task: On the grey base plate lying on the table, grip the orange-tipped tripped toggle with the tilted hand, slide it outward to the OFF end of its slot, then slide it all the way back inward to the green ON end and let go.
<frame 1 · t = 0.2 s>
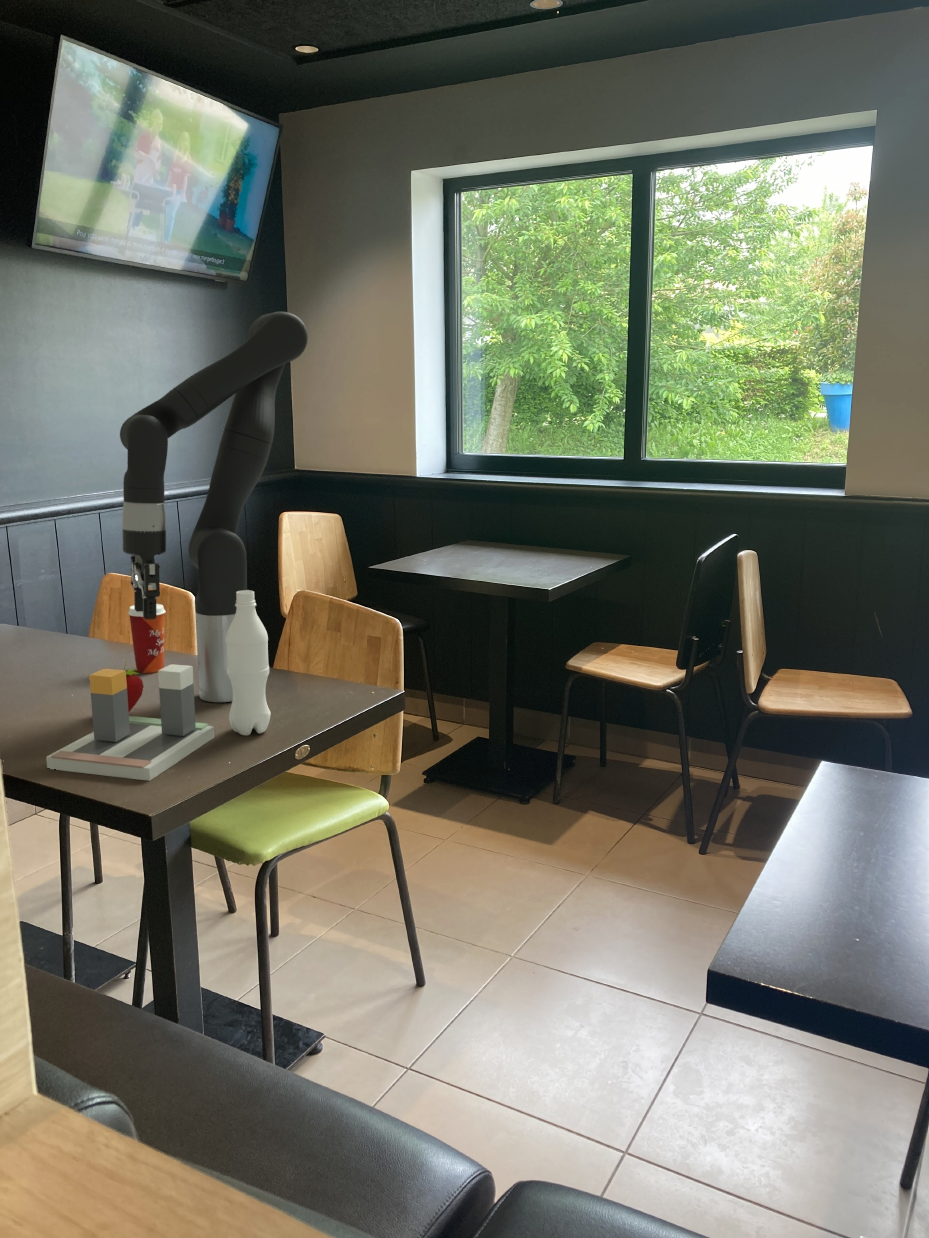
hand: (145, 614, 172), 18 cm above the table, tool pointing down, fingers open, 8 cm apart
paper cup: (150, 670, 202), on the table
orange-topped grey pillar: (110, 705, 153), point 8 cm above the table, slide at 0.0 cm
water bottle: (250, 731, 165), on the table
grey base plate: (134, 752, 154), on the table
strawberry: (125, 714, 173), on the table
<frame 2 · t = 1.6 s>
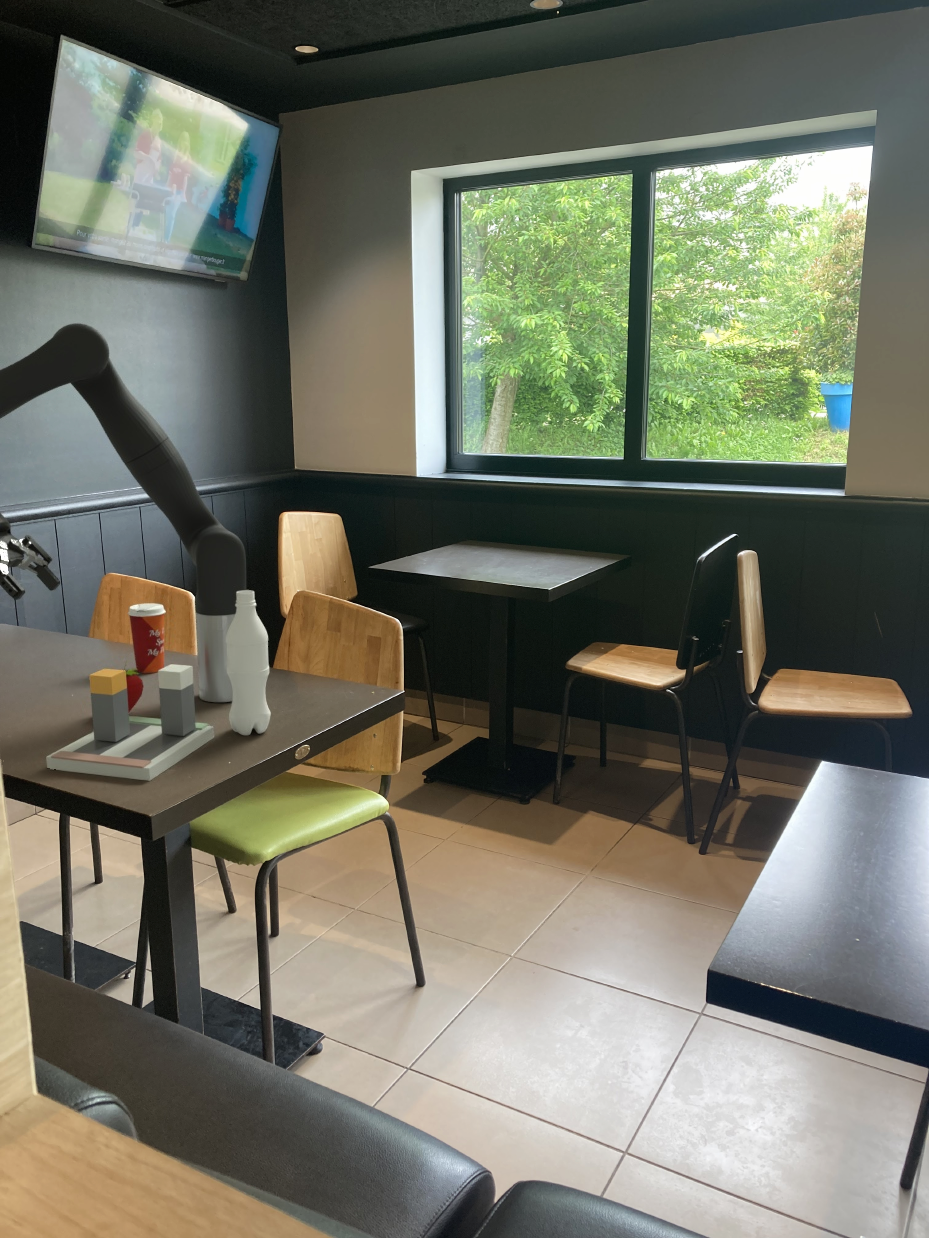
hand: (39, 591, 152), 26 cm above the table, tool tilted 45°, fingers open, 8 cm apart
nothing on the table moved.
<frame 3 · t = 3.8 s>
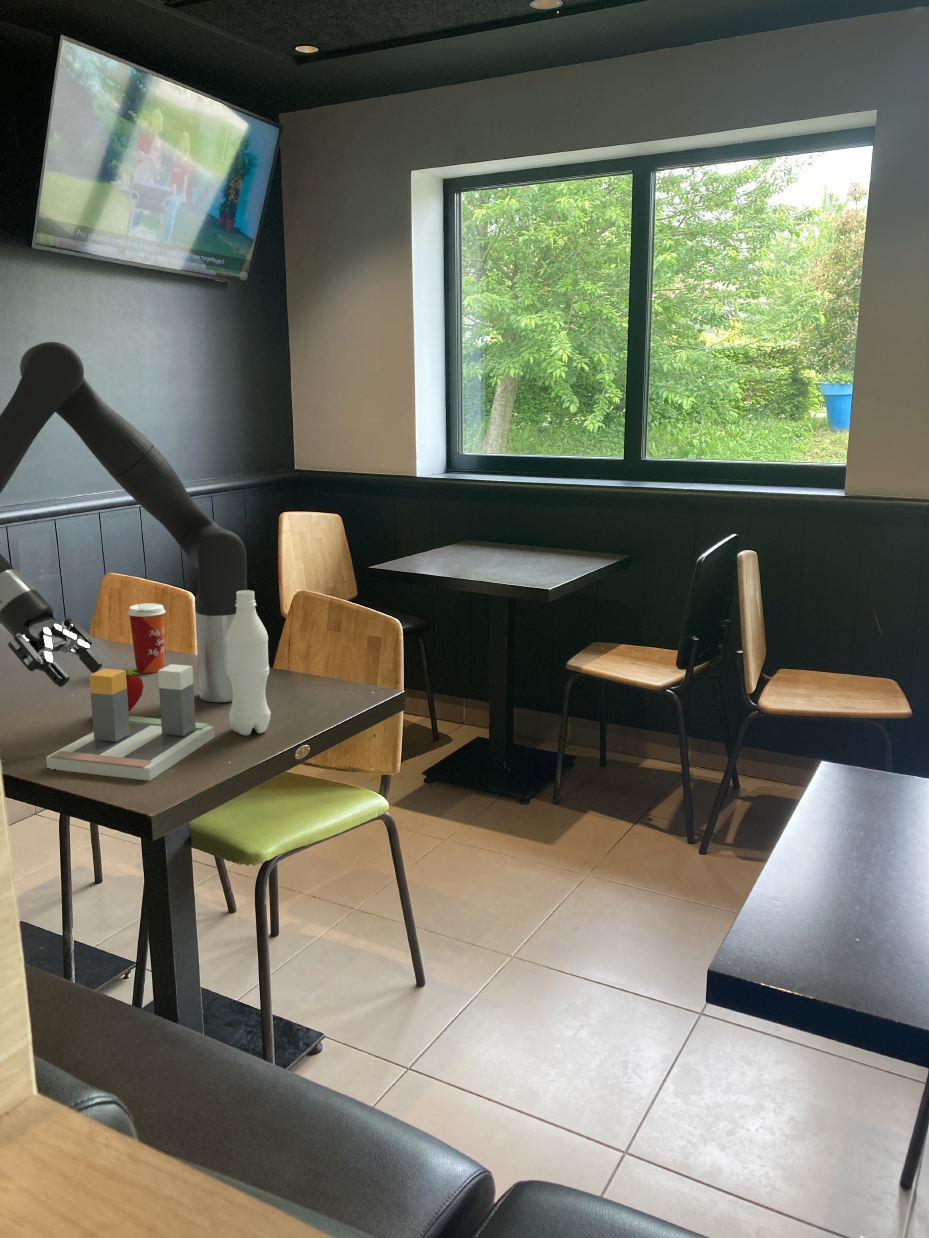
hand: (82, 676, 153), 12 cm above the table, tool tilted 45°, fingers open, 8 cm apart
nothing on the table moved.
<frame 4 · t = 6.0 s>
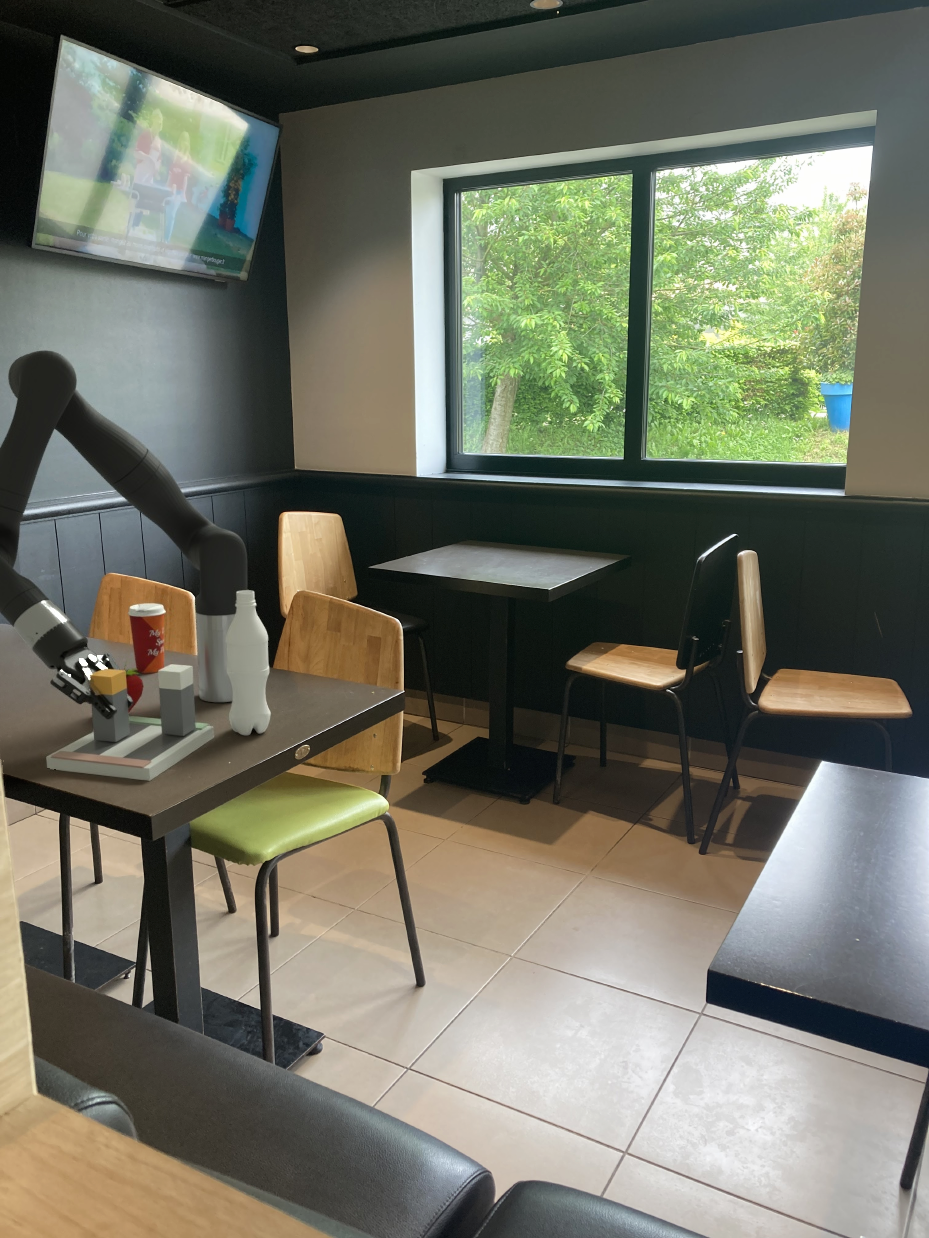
hand: (121, 711, 153), 7 cm above the table, tool tilted 45°, fingers closed on orange-topped grey pillar, 4 cm apart
orange-topped grey pillar: (109, 705, 153), point 8 cm above the table, slide at 0.0 cm, touching gripper
everything else where it was.
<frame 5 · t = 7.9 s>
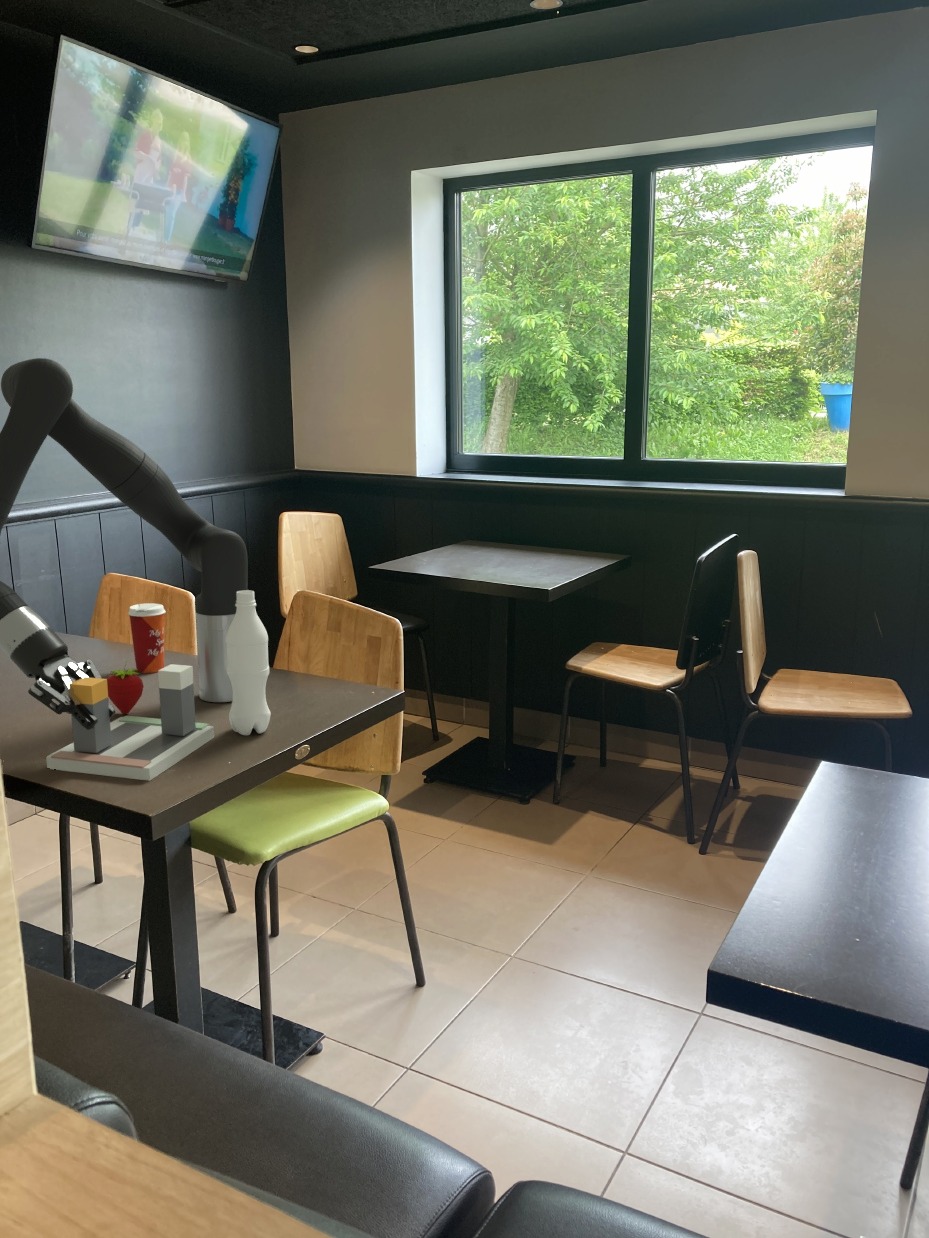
hand: (102, 720, 148), 7 cm above the table, tool tilted 45°, fingers closed on orange-topped grey pillar, 4 cm apart
orange-topped grey pillar: (90, 714, 148), point 8 cm above the table, slide at 5.2 cm, touching gripper
everything else where it was.
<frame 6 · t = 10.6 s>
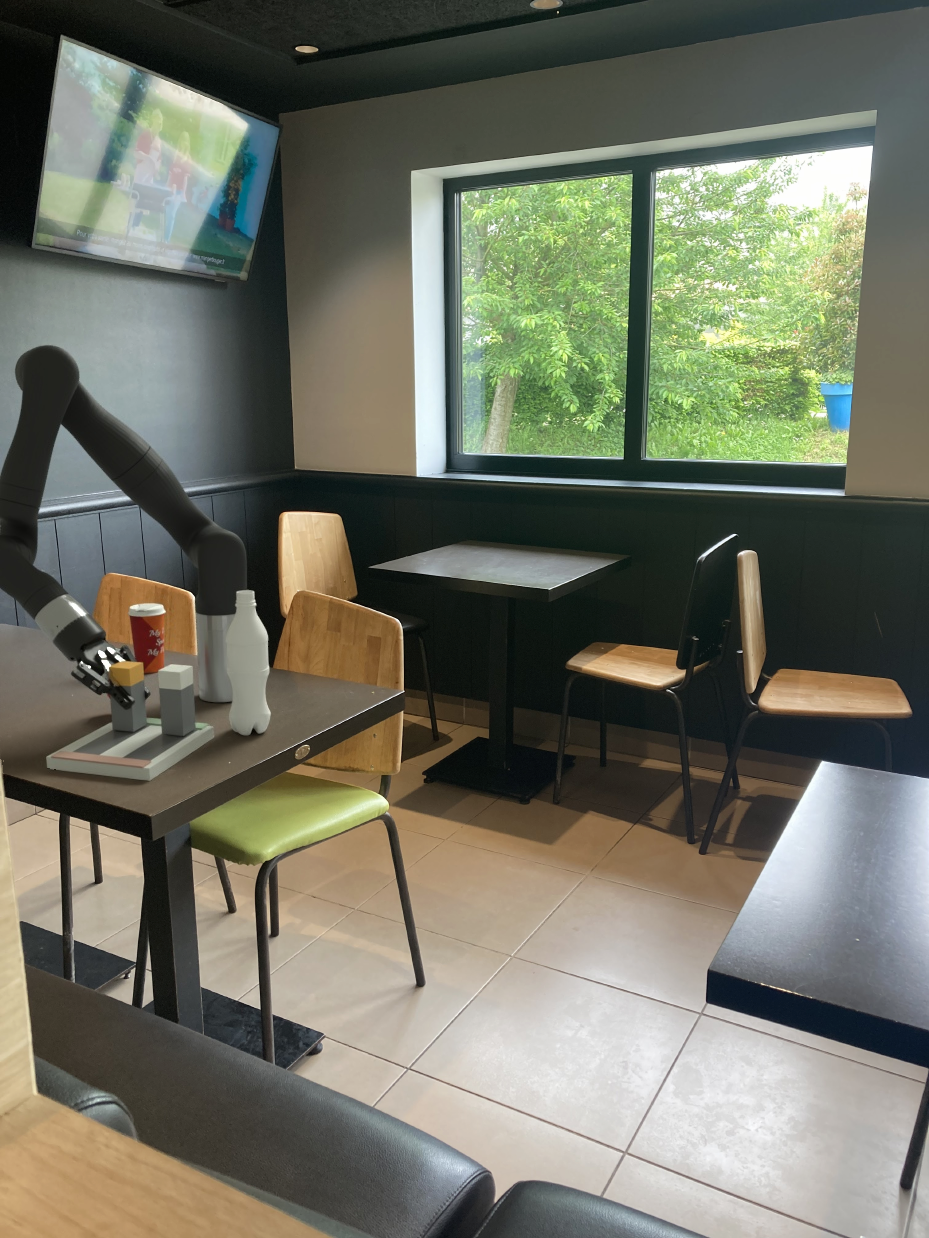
hand: (138, 701, 157), 7 cm above the table, tool tilted 45°, fingers closed on orange-topped grey pillar, 4 cm apart
orange-topped grey pillar: (127, 696, 158), point 8 cm above the table, slide at -5.0 cm, touching gripper
everything else where it was.
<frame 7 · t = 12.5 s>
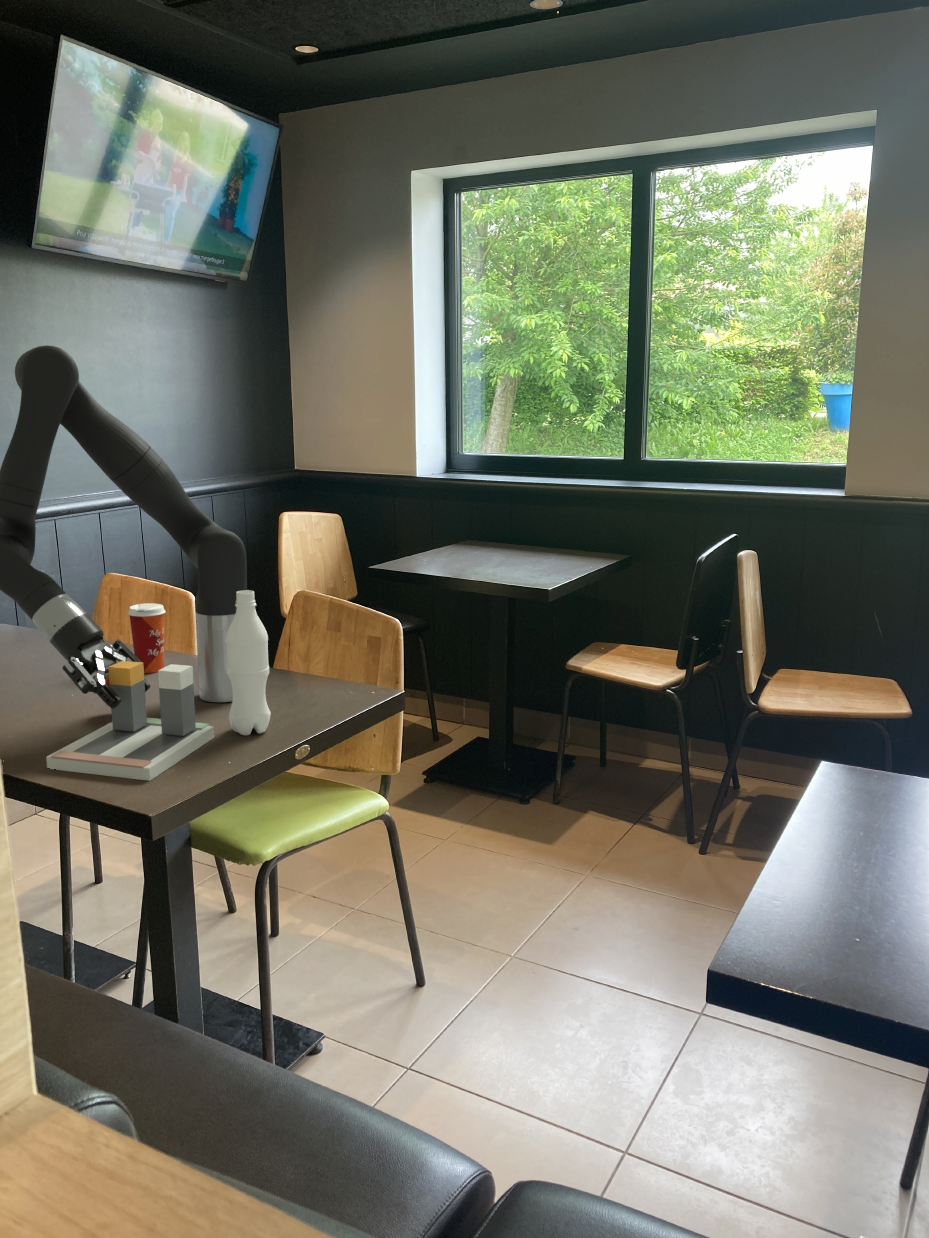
hand: (132, 697, 158), 8 cm above the table, tool tilted 45°, fingers open, 8 cm apart
orange-topped grey pillar: (128, 695, 158), point 8 cm above the table, slide at -5.1 cm
everything else where it was.
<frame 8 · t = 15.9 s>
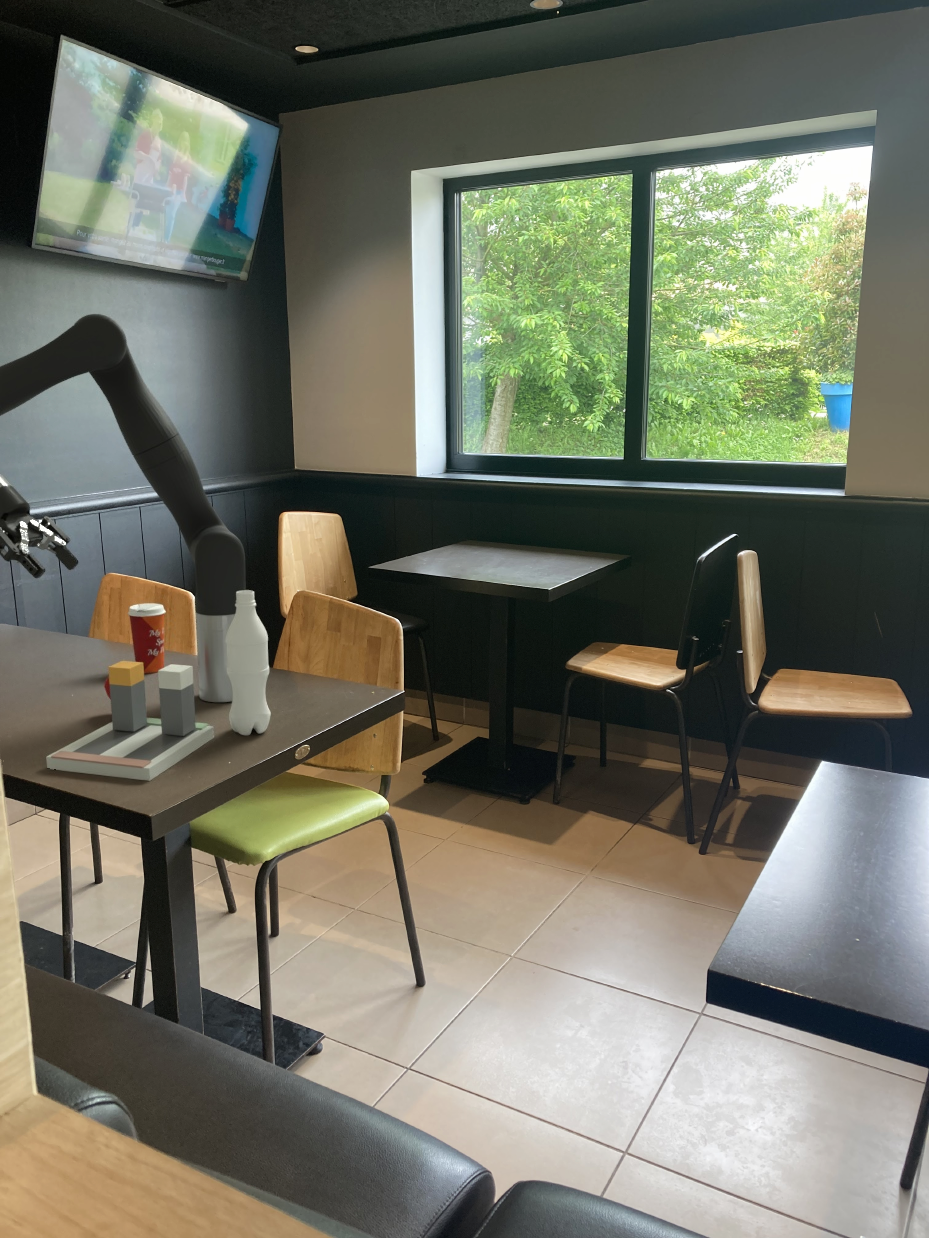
hand: (58, 570, 156), 29 cm above the table, tool tilted 45°, fingers open, 8 cm apart
nothing on the table moved.
at the end: orange-topped grey pillar slide at -5.1 cm; the gripper is holding nothing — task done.
